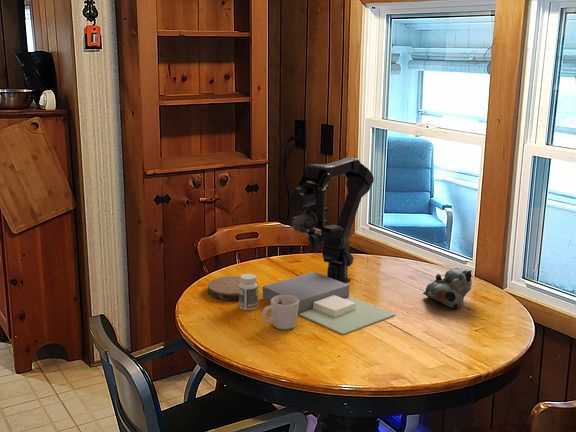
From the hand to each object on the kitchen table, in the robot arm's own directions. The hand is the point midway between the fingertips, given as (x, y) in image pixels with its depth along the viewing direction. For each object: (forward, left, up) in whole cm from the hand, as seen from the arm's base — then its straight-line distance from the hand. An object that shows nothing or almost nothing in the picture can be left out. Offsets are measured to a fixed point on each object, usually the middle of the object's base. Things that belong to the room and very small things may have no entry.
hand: (315, 252), depth 220 cm
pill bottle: (+25, -2, -13) cm, 28 cm away
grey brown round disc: (+21, -15, -14) cm, 29 cm away
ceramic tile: (+6, +16, -13) cm, 21 cm away
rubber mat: (+6, +21, -13) cm, 25 cm away
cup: (+27, +15, -13) cm, 33 cm away
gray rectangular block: (+6, +3, -13) cm, 15 cm away
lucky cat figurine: (-25, +33, -13) cm, 44 cm away
